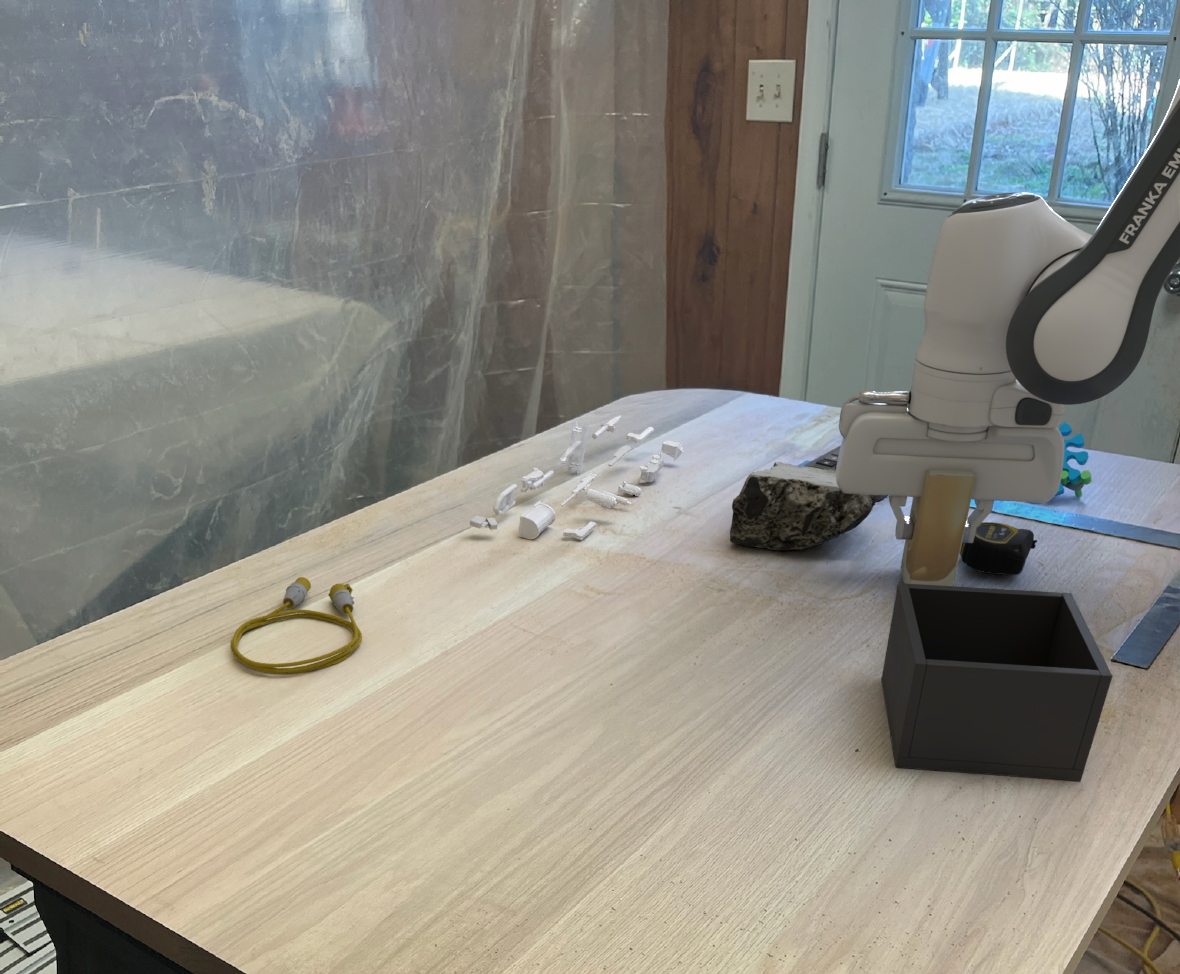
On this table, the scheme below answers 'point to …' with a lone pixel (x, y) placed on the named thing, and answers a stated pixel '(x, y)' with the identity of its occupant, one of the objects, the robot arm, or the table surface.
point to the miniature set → (545, 515)
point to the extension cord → (293, 598)
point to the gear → (1069, 475)
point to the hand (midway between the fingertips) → (933, 539)
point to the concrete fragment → (795, 508)
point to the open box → (992, 682)
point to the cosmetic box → (938, 528)
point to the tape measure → (998, 549)
